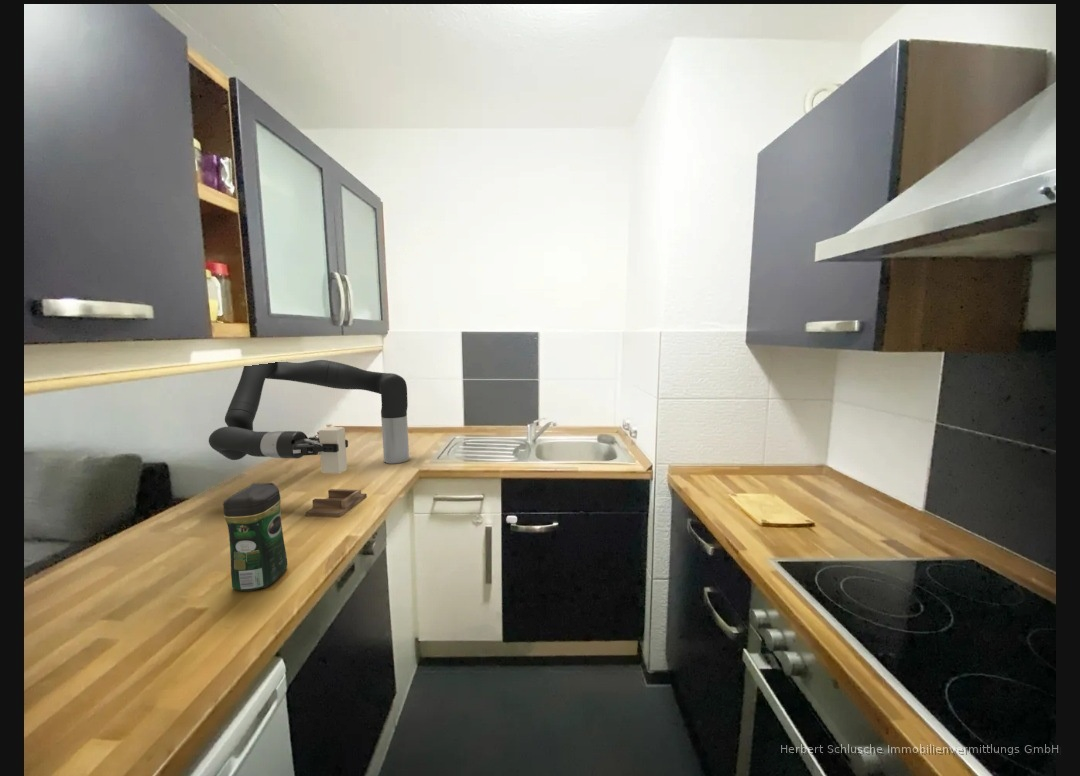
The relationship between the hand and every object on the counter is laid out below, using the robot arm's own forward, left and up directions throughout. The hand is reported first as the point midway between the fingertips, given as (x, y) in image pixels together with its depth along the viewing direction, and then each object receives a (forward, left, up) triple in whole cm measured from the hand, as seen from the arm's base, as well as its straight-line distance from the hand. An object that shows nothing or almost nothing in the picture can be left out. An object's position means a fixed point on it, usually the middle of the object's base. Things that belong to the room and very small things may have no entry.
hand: (342, 445), depth 116 cm
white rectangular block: (0, -3, -7) cm, 8 cm away
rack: (0, -3, -17) cm, 17 cm away
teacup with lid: (-55, -40, -18) cm, 70 cm away
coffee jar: (+35, +3, -18) cm, 40 cm away
